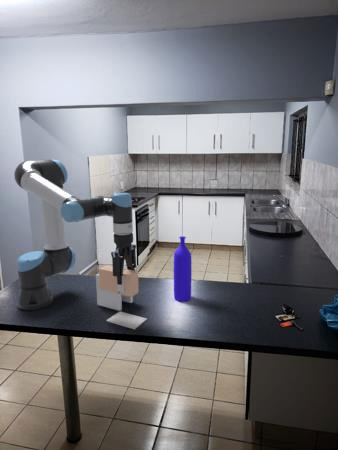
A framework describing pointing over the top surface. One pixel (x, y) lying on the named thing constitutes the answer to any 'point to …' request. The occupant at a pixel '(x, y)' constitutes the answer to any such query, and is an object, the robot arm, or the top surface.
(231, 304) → the top surface
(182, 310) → the top surface
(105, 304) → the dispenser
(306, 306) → the top surface
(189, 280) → the bottle
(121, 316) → the pad
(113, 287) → the wooden twin blocks
